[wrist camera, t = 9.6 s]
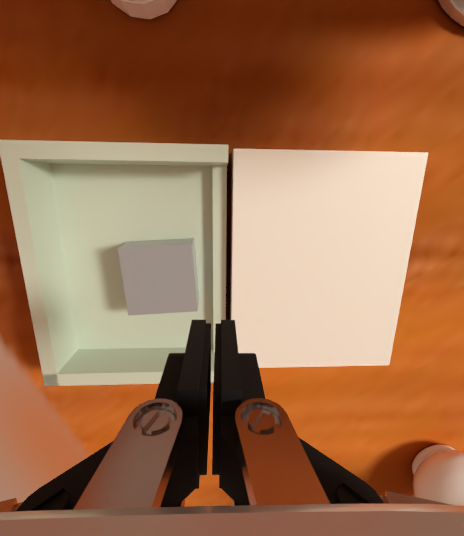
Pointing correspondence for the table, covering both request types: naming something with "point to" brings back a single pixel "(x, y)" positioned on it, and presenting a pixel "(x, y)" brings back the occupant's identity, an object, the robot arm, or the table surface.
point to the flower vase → (439, 474)
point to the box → (112, 249)
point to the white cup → (144, 7)
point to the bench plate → (320, 253)
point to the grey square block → (159, 276)
